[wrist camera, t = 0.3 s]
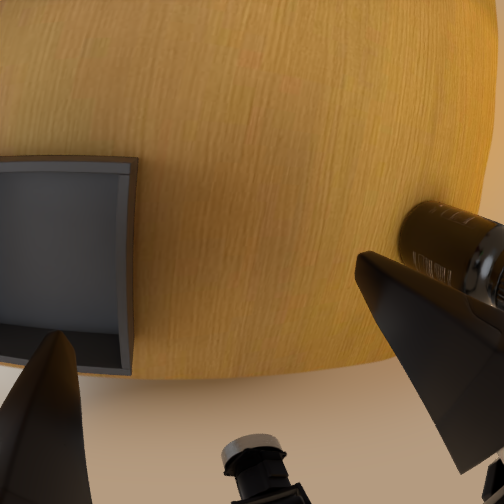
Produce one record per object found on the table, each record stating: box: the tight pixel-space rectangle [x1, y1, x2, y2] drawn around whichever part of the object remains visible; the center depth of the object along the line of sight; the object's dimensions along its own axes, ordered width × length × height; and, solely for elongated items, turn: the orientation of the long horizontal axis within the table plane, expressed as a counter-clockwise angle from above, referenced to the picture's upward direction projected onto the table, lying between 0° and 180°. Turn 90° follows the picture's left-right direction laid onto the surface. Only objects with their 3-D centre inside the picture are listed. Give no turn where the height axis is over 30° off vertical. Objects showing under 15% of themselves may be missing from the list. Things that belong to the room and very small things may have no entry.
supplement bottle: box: [399, 201, 504, 311], centre depth 21 cm, size 7×7×12 cm
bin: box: [0, 155, 139, 376], centre depth 17 cm, size 13×13×4 cm
